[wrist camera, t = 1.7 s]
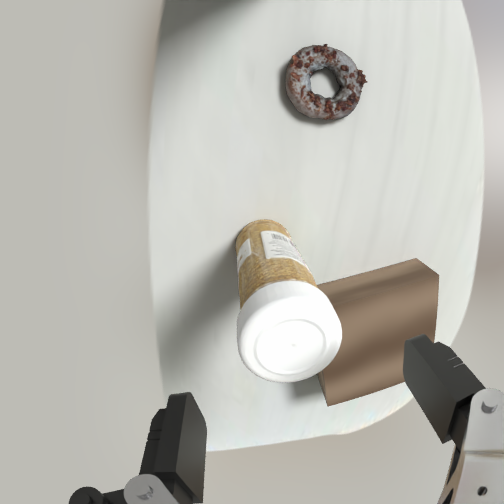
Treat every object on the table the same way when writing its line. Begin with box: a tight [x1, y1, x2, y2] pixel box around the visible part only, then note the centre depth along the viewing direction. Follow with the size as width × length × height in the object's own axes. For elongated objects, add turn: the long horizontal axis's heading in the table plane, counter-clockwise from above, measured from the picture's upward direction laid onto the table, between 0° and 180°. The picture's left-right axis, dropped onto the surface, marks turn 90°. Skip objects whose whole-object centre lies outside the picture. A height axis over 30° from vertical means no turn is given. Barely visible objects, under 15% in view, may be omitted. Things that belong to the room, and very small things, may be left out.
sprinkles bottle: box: [235, 220, 342, 383], centre depth 19 cm, size 5×5×14 cm
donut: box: [286, 44, 367, 120], centre depth 21 cm, size 8×8×2 cm
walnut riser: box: [317, 258, 439, 406], centre depth 27 cm, size 11×11×4 cm
